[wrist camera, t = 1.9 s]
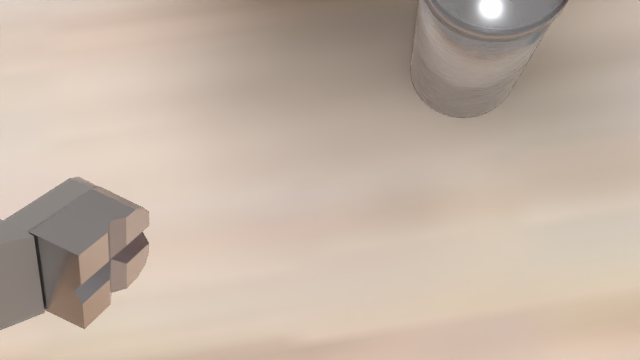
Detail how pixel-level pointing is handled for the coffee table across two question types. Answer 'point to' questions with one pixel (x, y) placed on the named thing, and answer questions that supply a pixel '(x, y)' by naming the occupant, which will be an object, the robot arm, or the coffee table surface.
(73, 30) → the coffee table surface
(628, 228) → the coffee table surface
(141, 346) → the coffee table surface
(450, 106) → the metal cylinder
